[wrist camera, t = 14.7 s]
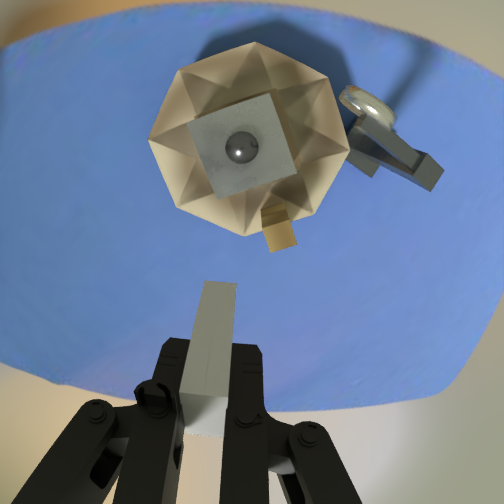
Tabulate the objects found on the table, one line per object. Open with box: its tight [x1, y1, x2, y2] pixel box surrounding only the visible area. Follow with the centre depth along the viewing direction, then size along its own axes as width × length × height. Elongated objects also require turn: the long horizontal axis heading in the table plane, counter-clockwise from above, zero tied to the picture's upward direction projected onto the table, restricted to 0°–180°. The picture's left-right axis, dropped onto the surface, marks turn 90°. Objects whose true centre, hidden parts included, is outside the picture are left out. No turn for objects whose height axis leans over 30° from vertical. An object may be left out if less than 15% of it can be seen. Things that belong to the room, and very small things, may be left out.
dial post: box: [338, 85, 444, 192], centre depth 23 cm, size 10×5×15 cm, turn 60°
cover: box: [186, 93, 297, 200], centre depth 25 cm, size 7×7×5 cm
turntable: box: [148, 42, 350, 253], centre depth 26 cm, size 18×18×7 cm
